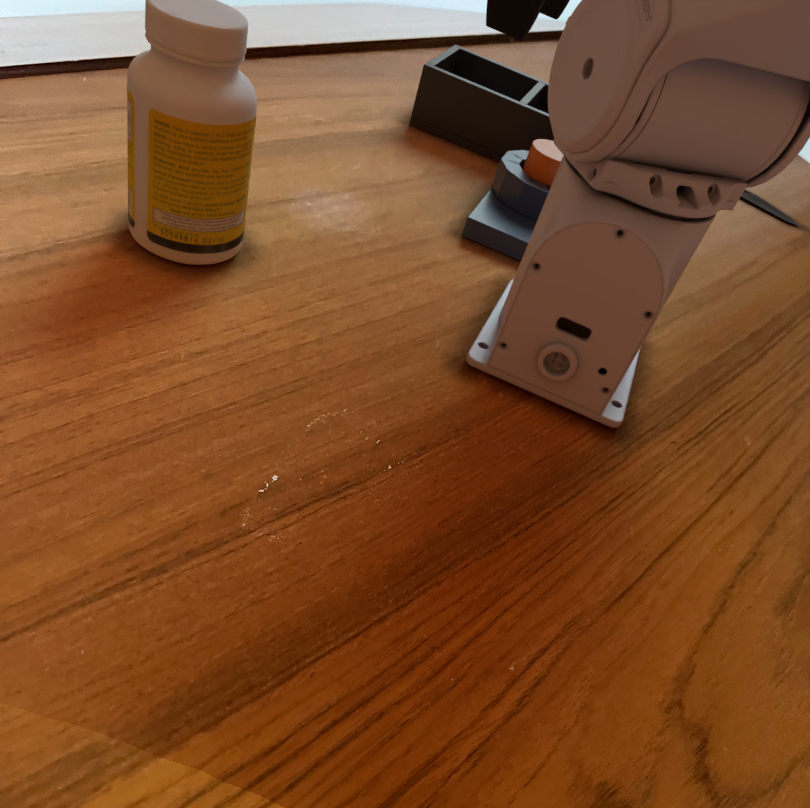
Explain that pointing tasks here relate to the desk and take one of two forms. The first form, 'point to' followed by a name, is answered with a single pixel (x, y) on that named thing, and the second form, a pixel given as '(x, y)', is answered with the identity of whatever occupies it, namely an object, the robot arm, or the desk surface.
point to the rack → (481, 104)
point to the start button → (543, 161)
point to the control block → (508, 208)
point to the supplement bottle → (190, 132)
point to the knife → (766, 206)
